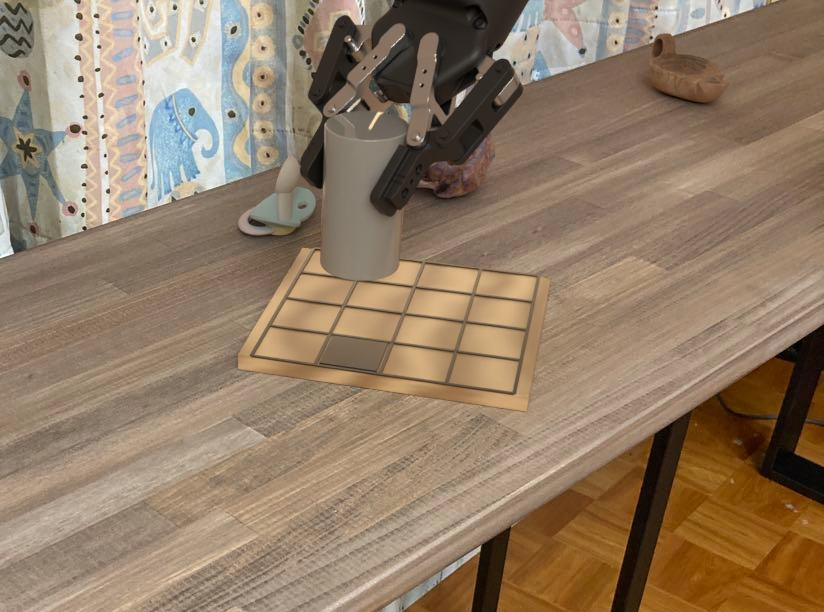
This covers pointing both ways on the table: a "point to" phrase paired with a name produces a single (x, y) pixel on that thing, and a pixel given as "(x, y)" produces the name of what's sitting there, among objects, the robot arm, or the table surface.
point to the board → (406, 331)
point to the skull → (460, 172)
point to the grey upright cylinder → (359, 196)
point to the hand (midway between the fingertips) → (344, 194)
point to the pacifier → (281, 205)
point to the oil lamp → (684, 73)
